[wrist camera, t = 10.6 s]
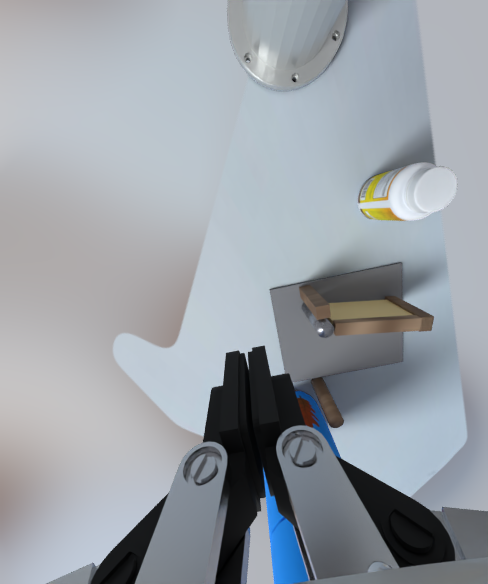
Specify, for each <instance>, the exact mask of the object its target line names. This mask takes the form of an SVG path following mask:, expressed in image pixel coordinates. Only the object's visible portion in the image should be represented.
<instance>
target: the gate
mask: <svg viewBox="0 0 488 584" xmlns="http://www.w3.org/2000/svg"><path fill="white" fill-rule="evenodd" d="M329 304H330V313H331V317H329V318H324V319H319V320H317V319H316V318H315V316H314V315H313V314H312V312H311V311H310V310H309V308H308V307H307V305H306V304H305V303H303V304H302V307H301V308H302V311H303V312H304V314H305V315H306V317H307V319H308V320H309V322H310V323H311V325H312V326H313V328H314V329H315V331H316V332H317V334H318V335H319V336H320V337H322V338H328V337H330V336H331V335H332V334H333V333H334V335H335V336H342V335H358V334H374V333H390V332H406V331H431V330H432V325H433V320H434V316H432V315H430V314H428V313H426V312H424V311H422V310H421V309H419V308H417V307H415V306H413V305H411V304H409V303H407V302H405V301H403V300H401V299H400V298H398V297H396V296H385V299H384V300H371V301H356V302H340V303H329Z"/></svg>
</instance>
